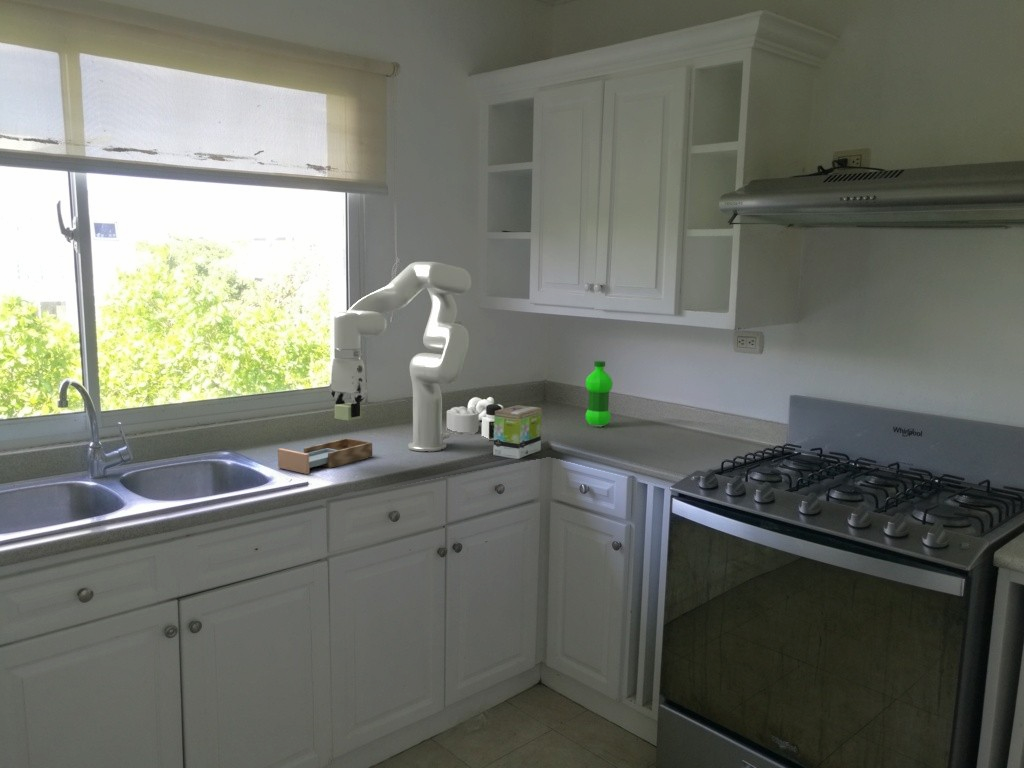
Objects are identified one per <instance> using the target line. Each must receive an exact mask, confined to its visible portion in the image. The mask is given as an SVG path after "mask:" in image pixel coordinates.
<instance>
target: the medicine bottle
mask: <svg viewBox="0 0 1024 768" xmlns="http://www.w3.org/2000/svg"><path fill="white" fill-rule="evenodd" d="M500 409H504V406H503V405H502V404H499V403H494V404H490V405H487V406H486V416H487V417H482V422H481V437H482V436H484V437H486V438H488V439H492V438H494V419H495V411H497V410H500Z"/></svg>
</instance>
